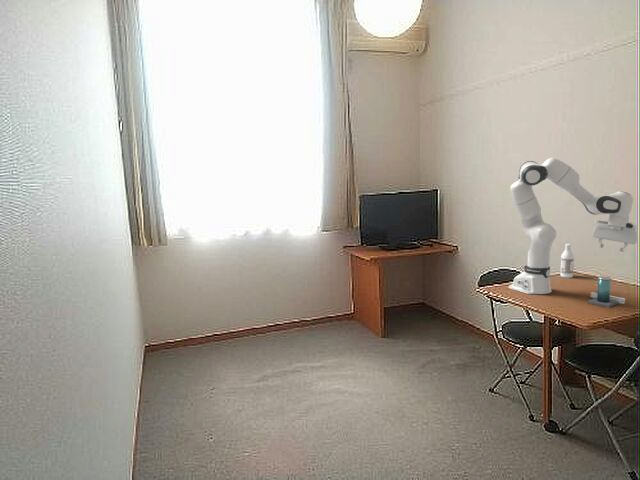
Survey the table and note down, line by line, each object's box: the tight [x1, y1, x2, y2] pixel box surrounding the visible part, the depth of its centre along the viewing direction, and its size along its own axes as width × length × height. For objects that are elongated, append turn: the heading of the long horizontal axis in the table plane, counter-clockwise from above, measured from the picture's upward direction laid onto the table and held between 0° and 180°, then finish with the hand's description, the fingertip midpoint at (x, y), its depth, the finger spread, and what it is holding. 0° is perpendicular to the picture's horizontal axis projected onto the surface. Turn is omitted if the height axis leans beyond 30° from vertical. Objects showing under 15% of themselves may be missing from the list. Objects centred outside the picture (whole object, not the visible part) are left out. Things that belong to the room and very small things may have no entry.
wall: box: [590, 291, 626, 305], centre depth 250 cm, size 16×1×2 cm, turn 35°
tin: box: [596, 275, 612, 303], centre depth 244 cm, size 6×6×12 cm
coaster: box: [587, 297, 619, 308], centre depth 246 cm, size 10×10×1 cm
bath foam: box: [560, 243, 575, 279], centre depth 297 cm, size 7×7×20 cm
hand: (611, 249), depth 253 cm, fingers open, 8 cm apart
